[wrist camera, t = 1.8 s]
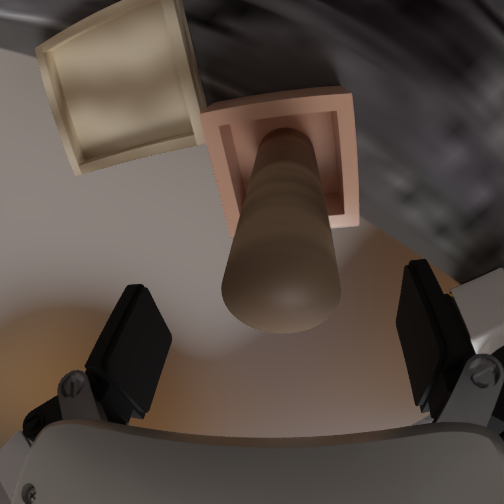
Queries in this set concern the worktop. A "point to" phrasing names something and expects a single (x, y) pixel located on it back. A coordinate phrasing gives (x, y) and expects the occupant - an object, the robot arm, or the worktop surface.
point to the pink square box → (286, 116)
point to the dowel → (283, 242)
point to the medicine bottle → (483, 312)
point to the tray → (124, 84)
